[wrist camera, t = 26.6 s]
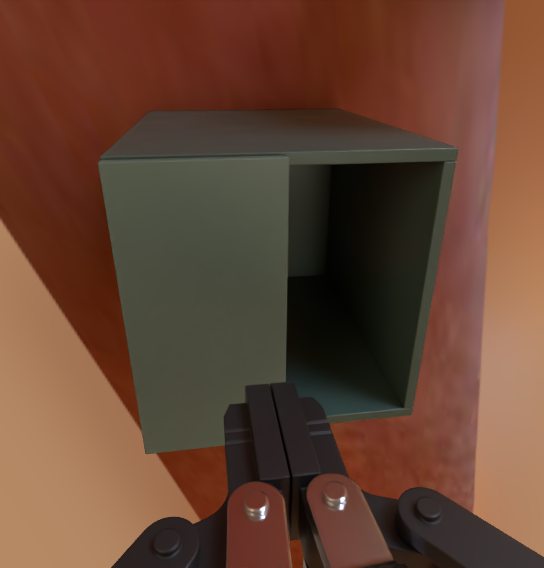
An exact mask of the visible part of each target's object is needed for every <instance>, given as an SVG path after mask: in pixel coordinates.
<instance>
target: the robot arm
mask: <svg viewBox="0 0 544 568" xmlns="http://www.w3.org/2000/svg"><path fill="white" fill-rule="evenodd" d="M223 418H224V437H225V455H226V469H227V484H228V495H227V498H226V500H225V502H224V504H223V505H222V506H221V508H220V509H219V510H218V511H217V512H216V513H214V514H213V515H211V516H209V517H208V518H206V519H203V520H201V521H199V522H197V523H195V524H192V523H191V522H190V521H188V520H186V519H184V518H180V517H167V518H163V519H160V520H158V521H156V522H154V523H153V524H152V525H150V526H149V527H148V528H146V530H144V532H143V533H142V534H141V535H140V536H139V537H138V538H137V540H135V542H134V543H133V544H132V545H131V546H130V547H129V548H128V549H127V551H126V552H125V553H124V554H123V555H122V556H121V558H119V559H118V561H117V562H116V563H115V564H114V565H113V566H112V567H111V568H292V562H291V553H290V544H289V536H290V541H291V540H298V539H300V540H301V545H302V549H303V568H544V557H543V556H541V555H539V554H538V553H536V552H535V551H533V550H531V549H530V548H528V547H526V546H525V545H523V544H522V543H520V542H518V541H517V540H515V539H513V538H512V537H510V536H508V535H507V534H505V533H503V532H502V531H500V530H499V529H497V528H495V527H494V526H492V525H491V524H489V523H487V522H486V521H484V520H482V519H481V518H479V517H478V516H476V515H474V514H473V513H471V512H470V511H468V510H466V509H465V508H463V507H461V506H460V505H458V504H457V503H455V502H453V501H452V500H450V499H449V498H447V497H445V496H444V495H442V494H440V493H438V492H437V491H434V490H432V489H428V488H423V487H416V488H411V489H408V490H406V491H405V492H404V493H403V494H402V495H401V496H400V498H399V500H397V499H392V498H386V497H380V496H375V495H372V494H369V493H367V492H365V491H363V490H362V489H360V487H359V486H358V485H357V484H356V483H355V482H354V481H353V480H352V479H350V478H349V476H348V474H347V471H346V469H345V466H344V463H343V461H342V458H341V455H340V452H339V450H338V447H337V444H336V441H335V439H334V436H333V434H332V430H331V428H330V425H329V423H328V419H327V417H326V414H325V411H324V409H323V407H322V406H321V405H320V404H319V403H318V402H317V401H316V400H315V399H314V398H313V397H301V398H299V396H298V392H297V389H296V386H295V383H294V381H290V382H279V383H270V386H269V384H257V385H246V386H245V403H238V404H229V407H228V409H227V411H226V413H225V415H224V417H223ZM288 530H289V535H288Z"/></svg>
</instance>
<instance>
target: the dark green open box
mask: <svg viewBox="0 0 544 568" xmlns="http://www.w3.org/2000/svg"><path fill="white" fill-rule="evenodd" d="M457 154H458V148H457V147H454V146H451V145H448V144H445V143H442V142H439V141H436V140H432V139H429V138H426V137H423V136H420V135H417V134H414V133H411V132H408V131H405V130H402V129H399V128H396V127H393V126H390V125H387V124H384V123H381V122H378V121H375V120H372V119H369V118H366V117H363V116H360V115H356V114H353V113H350V112H347V111H344V110H341V109H288V110H204V111H150V112H148V113H147V114H146V115H145V116H144V117H143V118H142V119H141V120H140V121H139V122H137V123H136V124H135V125H134V126H133V127H132V128H131V129H130V130H129V131H128V132H127V133H125V134H124V135H123V136H122V137H121V138H120V139H119V140H118V141H117V142H116V143H115V144H113V145H112V146H111V147H110V148H109V149H108V150H107V151H106V152H105V153H104V154H103V155H101V156H100V160H130V159H168V158H206V157H243V156H281V155H287V156H288V157H289V158H290V159H289V219H288V278H287V334H286V382H290V381H294V383H295V386H296V389H297V392H298V396H299V398H301V397H313V398H314V399H315V400H316V401H317V402H318V403H319V404H320V405H321V406H322V407H323V409H324V411H325V414H326V417H327V419H328V423H339V422H349V421H359V420H369V419H379V418H389V417H399V416H409V415H412V411H413V405H414V399H415V394H416V388H417V382H418V376H419V371H420V365H421V359H422V354H423V348H424V342H425V336H426V331H427V325H428V319H429V313H430V308H431V302H432V296H433V290H434V285H435V279H436V273H437V268H438V262H439V256H440V250H441V245H442V239H443V233H444V227H445V222H446V216H447V210H448V205H449V199H450V193H451V187H452V182H453V176H454V170H455V164H456V162H455V161H456V159H457Z"/></svg>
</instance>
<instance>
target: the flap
mask: <svg viewBox="0 0 544 568" xmlns="http://www.w3.org/2000/svg"><path fill="white" fill-rule="evenodd" d="M289 159H290V158H289V157H288V156H287V155H281V156H243V157H206V158H168V159H130V160H100V161H99V162H98V168H99V174H100V180H101V186H102V192H103V198H104V204H105V210H106V216H107V222H108V229H109V235H110V241H111V247H112V253H113V259H114V265H115V271H116V277H117V283H118V289H119V296H120V302H121V308H122V314H123V320H124V326H125V332H126V338H127V344H128V350H129V356H130V362H131V369H132V375H133V381H134V387H135V393H136V399H137V405H138V411H139V417H140V423H141V429H142V436H143V441H144V448H145V453H146V454H151V453H161V452H170V451H179V450H188V449H197V448H206V447H215V446H224V445H225V437H224V418H223V417H224V415H225V413H226V411H227V409H228V407H229V404H238V403H245V386H246V385H257V384H269V386H270V383H279V382H286V334H287V276H288V217H289Z"/></svg>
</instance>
